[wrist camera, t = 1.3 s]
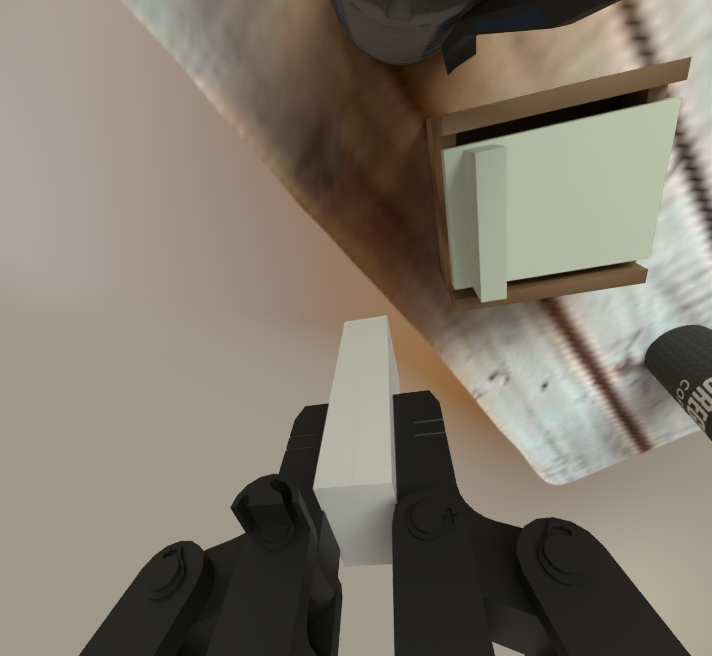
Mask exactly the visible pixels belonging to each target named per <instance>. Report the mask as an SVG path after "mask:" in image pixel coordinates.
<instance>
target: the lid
mask: <svg viewBox="0 0 712 656" xmlns="http://www.w3.org/2000/svg"><path fill="white" fill-rule="evenodd" d="M681 99H682V97H678V98H667V99H663V100H658V101H654V102H649V103H645V104H640V105H636V106H632V107H627V108H623V109H618V110H614V111H610V112H605V113H601V114H596V115H592V116H587V117H583V118H579V119H574V120H570V121H565V122H561V123H556V124H552V125H548V126H543V127H539V128H534V129H530V130H525V131H521V132H517V133H512V134H508V135H503V136H499V137H495V138H490V139H486V140H481V141H477V142H472V143H468V144H464V145H459V146H455V147H450V148H446V149H441V158H442V170H443V182H444V194H445V206H446V218H447V230H448V242H449V254H450V266H451V278H452V285H453V287H454V289H455V290H457V289H463V288H469V287H473V288H474V290H475V292H476V294H477V296H478V297H479V299H480V301H481V302H488V301H494V300H501V299H507V281H512V280H518V279H524V278H530V277H537V276H543V275H549V274H555V273H561V272H567V271H573V270H579V269H586V268H592V267H598V266H604V265H610V264H616V263H622V262H629V261H635V260H641V259H647V258H649V257H650V252H651V247H652V242H653V237H654V232H655V228H656V223H657V218H658V213H659V208H660V203H661V198H662V193H663V188H664V183H665V178H666V173H667V168H668V163H669V159H670V154H671V149H672V144H673V139H674V134H675V129H676V124H677V119H678V114H679V109H680V104H681Z"/></svg>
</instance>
